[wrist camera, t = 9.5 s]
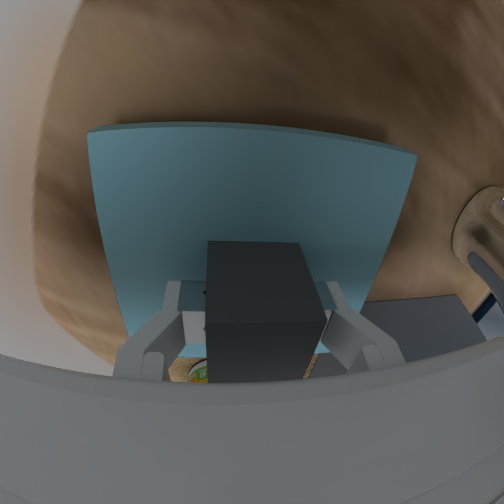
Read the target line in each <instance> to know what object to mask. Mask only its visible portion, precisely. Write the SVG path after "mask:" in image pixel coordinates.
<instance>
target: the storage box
mask: <svg viewBox="0 0 504 504" xmlns="http://www.w3.org/2000/svg"><path fill="white" fill-rule="evenodd" d="M359 314H361V315H362V316H363V317H365V318H366V319H367V320H369V321H370V322H372V323H373V324H374V325H376V326H377V327H378V328H380V329H381V330H382V331H384V332H385V333H386V334H388V335H389V336H390V337H392V338H393V339H394V340H396V342H397V345H398V347H399V349H400V351H401V353H402V355H403V357H404V359H405V362H406V363H409V362H413V361H418V360H422V359H426V358H430V357H434V356H438V355H442V354H445V353H449V352H453V351H456V350H460V349H463V348H466V347H469V346H473V345H476V344H479V343H482V342H485V341H487V340H486V338H485V336H484V335H483V333H482V332H481V330H480V328H479V327H478V325H477V324H476V322H475V321H474V319H473V318H472V316H471V315H470V313H469V312H468V310H467V309H466V307H465V306H464V304H463V303H462V302H461V300H460V299H459V297H458V296H457V295H449V296H439V297H429V298H418V299H406V300H393V301H378V302H364V304H363V306H362V308H361V310H360V312H359ZM347 371H348V370H347V369H346V368H345V367H344V366H343V365H342V363H341V362H340V361H339V360H338V359H337V358H336V357H335V356H334V355H333V354H332V353H331V352H328V353H320V355H319V357H318V359H317V361H316V363H315V365H314V367H313V370H312V372H311V374H310V376H309V378H318V377H327V376H334V375H342V374H346V373H347ZM309 378H308V379H309Z"/></svg>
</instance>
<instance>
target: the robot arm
mask: <svg viewBox="0 0 504 504" xmlns="http://www.w3.org/2000/svg"><path fill="white" fill-rule="evenodd" d="M314 284H315V287H316V289H317V292H318V295H319V297H320V300H321V303H322V305H323V308H324V311H325V314H326V317H327V319H328V321H327V324H326V326H325V329H324V331H323V333H322V336H321V338H320V341H321V343H322V344H323V345H324V346H325V347H326V348H327V349H328V350H329V351H330V352H331V353H332V354H333V355H334V356H335V357H336V358H337V359H338V360H339V361H340V362H341V363H342V365H343V366H344V367H345V368H346V369H347V370H348V371H347V373H346V374H342V375H334V376H327V377H318V378H309V379H298V380H285V381H270V382H247V383H190V382H171V380H170V376H169V373H168V368H169V367H170V366H171V364H172V363H173V362H174V360H175V359H176V358H177V356H178V355H179V354H180V352H181V351H182V350H183V348H184V347H185V346H186V344H206V335H205V303H206V281H193V280H168V282H167V286H166V292H165V297H164V303H163V309H162V311H158V312H157V313H156V314H154V315H153V316H152V317H151V318H150V319H149V320H148V321H147V322H146V323H145V324H144V325H143V326H142V327H141V328H140V329H138V330H137V331H136V332H135V333H134V334H133V335H132V336H131V337H130V338H129V339H128V340H127V341H126V342H125V343H124V344H123V345H122V346H120V347H119V349H118V353H117V358H116V362H115V367H114V372H113V376H112V377H111V376H104V375H96V374H90V373H83V372H77V371H71V370H66V369H60V368H56V367H51V366H46V365H41V364H37V363H33V362H28V361H24V360H20V359H16V358H13V357H9V356H5V355H2V354H0V504H504V337H496V338H493V339H491V340H488V341H485V342H482V343H479V344H476V345H473V346H469V347H466V348H463V349H460V350H456V351H453V352H449V353H445V354H442V355H438V356H434V357H430V358H426V359H422V360H418V361H413V362H409V363H406V362H405V359H404V357H403V355H402V353H401V351H400V349H399V347H398V345H397V342H396V340H394V339H393V338H392V337H390V336H389V335H388V334H386V333H385V332H384V331H382V330H381V329H380V328H378V327H377V326H376V325H374V324H373V323H372V322H370V321H369V320H367V319H366V318H365V317H363V316H362V315H361V314H359V313H358V312H357V311H355V310H354V309H350V308H349V306H348V303H347V301H346V299H345V297H344V295H343V293H342V290H341V288H340V286H339V284H338V282H337V281H314Z"/></svg>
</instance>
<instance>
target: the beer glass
mask: <svg viewBox="0 0 504 504" xmlns="http://www.w3.org/2000/svg"><path fill="white" fill-rule="evenodd" d="M452 249H453V252H454V255H455V256H456V258H457V259H458V260H459V261H460V262H461V263H462V264H464V265H465V266H466V267H468V268H469V269H470V270H471V271H473V272H474V273H475V274H476V275H478V276H479V277H480V278H481V279H482V280H483V281H484V283H485V284H486V285H487V286H488V287H489V289H490V290H491V292H492V293H493V295H494V296H495V298H496V300H497V302H498V304H499V306H500V308H501V310H502V312H503V314H504V190H503V189H501V188H499V187H496V186H490V187H487V188H485V189H483V190H481V191H479V192H478V193H477V194H476V195H475V196H474V197H473V198H472V199H471V200H470V201H469V202H468V203H467V205H466V206H465V208H464V209H463V211H462V212H461V214H460V216H459V218H458V220H457V223H456V226H455V229H454V232H453V238H452Z"/></svg>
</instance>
